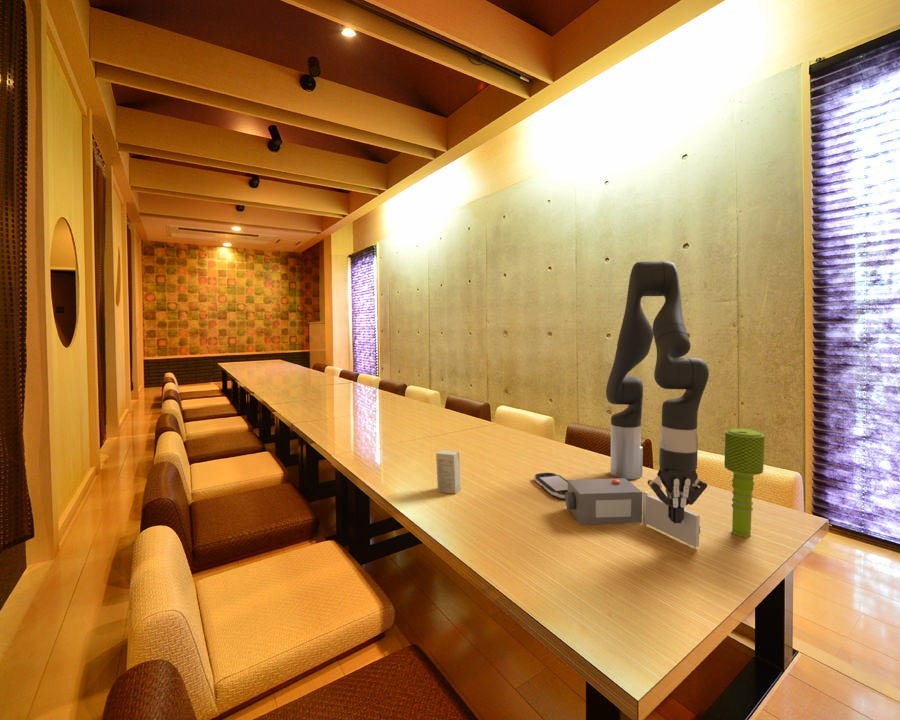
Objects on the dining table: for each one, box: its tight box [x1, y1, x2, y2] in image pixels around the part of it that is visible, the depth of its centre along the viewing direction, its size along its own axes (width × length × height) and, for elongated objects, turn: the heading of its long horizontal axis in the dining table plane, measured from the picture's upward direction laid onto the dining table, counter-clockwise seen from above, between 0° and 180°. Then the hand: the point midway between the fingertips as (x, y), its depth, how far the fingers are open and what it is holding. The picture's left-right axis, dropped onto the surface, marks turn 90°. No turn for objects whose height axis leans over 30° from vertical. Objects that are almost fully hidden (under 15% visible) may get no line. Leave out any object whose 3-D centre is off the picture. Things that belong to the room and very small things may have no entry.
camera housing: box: [564, 477, 643, 526], centre depth 112 cm, size 10×18×9 cm, turn 92°
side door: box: [642, 490, 701, 548], centre depth 101 cm, size 2×14×8 cm, turn 25°
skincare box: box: [435, 449, 462, 495], centre depth 131 cm, size 6×4×12 cm
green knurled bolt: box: [723, 428, 766, 538], centre depth 101 cm, size 8×8×25 cm
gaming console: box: [533, 472, 568, 501], centre depth 132 cm, size 19×9×2 cm, turn 12°
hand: (675, 521), depth 96 cm, fingers closed
